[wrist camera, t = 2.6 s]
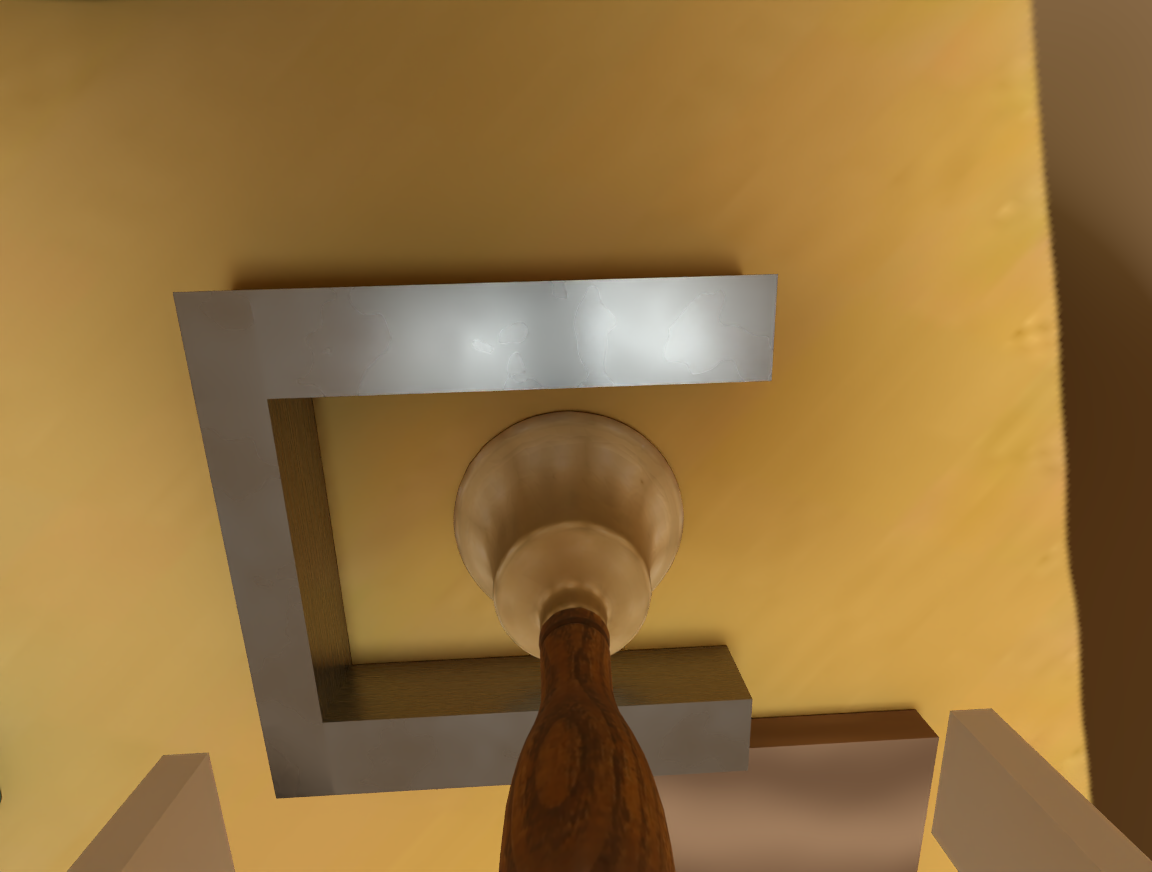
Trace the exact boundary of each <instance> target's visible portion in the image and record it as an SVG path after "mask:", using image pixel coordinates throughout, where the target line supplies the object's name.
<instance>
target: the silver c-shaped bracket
mask: <svg viewBox="0 0 1152 872" xmlns="http://www.w3.org/2000/svg"><path fill="white" fill-rule="evenodd" d="M777 280H778V274H764V275H724V276H690V277H657V278H624V279H590V280H557V281H523V282H490V283H457V284H423V285H390V286H356V287H323V288H290V289H256V290H224V291H196V292H173V296H174V301H175V306H176V311H177V316H178V321H179V326H180V331H181V335H182V340H183V345H184V350H185V355H186V360H187V365H188V370H189V374H190V379H191V384H192V389H193V394H194V399H195V404H196V409H197V414H198V418H199V423H200V428H201V433H202V438H203V443H204V448H205V453H206V458H207V462H208V467H209V472H210V477H211V482H212V487H213V492H214V497H215V502H216V506H217V511H218V516H219V521H220V526H221V531H222V536H223V541H224V545H225V550H226V555H227V560H228V565H229V570H230V575H231V580H232V585H233V589H234V594H235V599H236V604H237V609H238V614H239V619H240V624H241V629H242V633H243V638H244V643H245V648H246V653H247V658H248V663H249V668H250V673H251V677H252V682H253V687H254V692H255V697H256V702H257V707H258V712H259V716H260V721H261V726H262V731H263V736H264V741H265V746H266V751H267V756H268V760H269V765H270V770H271V775H272V780H273V785H274V790H275V795H276V798H293V797H309V796H326V795H343V794H360V793H377V792H394V791H411V790H428V789H444V788H461V787H478V786H495V785H511V782H512V778H513V775H514V771H515V768H516V765H517V761H518V758H519V755H520V753H521V750H522V748H523V745H524V743H525V740H526V738H527V736H528V734H529V732H530V730H531V728H532V726H533V724H534V722H535V720H536V717H537V715H538V712H539V708H540V703H541V671H540V659H539V658H537V657H535V656H518V657H499V658H479V659H460V660H441V661H421V662H402V663H383V664H363V665H352V661H351V655H350V648H349V641H348V635H347V628H346V622H345V615H344V608H343V602H342V595H341V588H340V582H339V575H338V568H337V562H336V555H335V549H334V542H333V535H332V529H331V522H330V515H329V509H328V502H327V495H326V489H325V482H324V476H323V469H322V462H321V456H320V449H319V442H318V436H317V429H316V422H315V416H314V409H313V403H312V397H336V396H364V395H391V394H419V393H447V392H474V391H502V390H529V389H557V388H585V387H612V386H640V385H667V384H695V383H722V382H750V381H771V380H772V363H773V346H774V330H775V313H776V296H777ZM610 659H611V674H612V685H613V694H614V698H615V702H616V704H617V707H618V709H619V712H620V713H621V715H622V716H623V718H624V719H625V721H626V723H627V724H628V726H629V727H630V729H631V730H632V732H633V734H634V736H635V737H636V739H637V741H638V743H639V745H640V747H641V749H642V751H643V752H644V754H645V757H646V759H647V762H648V764H649V767H650V769H651V772H652V774H653V776H664V775H681V774H698V773H715V772H732V771H748V763H749V746H750V730H751V713H752V697H751V695H750V693H749V691H748V689H747V687H746V685H745V683H744V681H743V679H742V677H741V675H740V672H739V670H738V668H737V666H736V664H735V662H734V660H733V658H732V656H731V654H730V652H729V650H728V648H727V646H711V647H692V648H672V649H653V650H634V651H617V652H616V653H614V654H612V655H610Z"/></svg>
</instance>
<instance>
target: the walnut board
mask: <svg viewBox="0 0 1152 872" xmlns="http://www.w3.org/2000/svg"><path fill="white" fill-rule="evenodd" d="M938 740H939V737H938V736H937V734H936V733H935V732H934V731H933V730H932V729H931V727H930V726H929V725H928V724H927V723H926V721H925V720H924V719H923V718H922V717H921V716H920V714H919V713H918V712H917V711H916V710H900V711H882V712H864V713H847V714H829V715H811V716H793V717H775V718H758V719H751V730H750V746H749V763H748V771H732V772H715V773H698V774H681V775H664V776H653V777H654V780H655V783H656V786H657V790H658V793H659V796H660V799H661V802H662V805H663V808H664V812H665V817H666V822H667V827H668V832H669V836H670V841H671V846H672V852H673V859H674V865H675V871H676V872H917V869H918V863H919V857H920V851H921V844H922V838H923V832H924V826H925V820H926V814H927V808H928V801H929V795H930V789H931V783H932V777H933V771H934V765H935V758H936V752H937V746H938Z"/></svg>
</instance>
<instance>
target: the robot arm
mask: <svg viewBox="0 0 1152 872" xmlns="http://www.w3.org/2000/svg"><path fill="white" fill-rule="evenodd" d="M931 833H932V834H933V836H934V837H935V839H936V840H937V842H938V843H939V844H940V846H941V847H942V849H943V850H944V852H945V853H946V854H947V856H948V857H949V859H950V860H951V862H952V863H953V864H954V866H955V867H956V869H957V870H958V872H1152V861H1151V860H1150V859H1149V858H1148V857H1147V856H1146V855H1145V854H1143V853H1142V852H1141V851H1140V850H1139V849H1138V848H1137V847H1136V846H1135V845H1134V844H1133V843H1132V842H1131V841H1130V840H1129V839H1128V838H1127V837H1126V836H1125V835H1124V834H1122V833H1121V832H1120V831H1119V830H1118V829H1117V828H1116V827H1115V826H1114V825H1113V824H1112V823H1111V822H1110V821H1109V820H1108V819H1107V818H1106V817H1105V816H1104V815H1103V814H1101V813H1100V812H1099V811H1098V810H1097V809H1096V808H1095V807H1094V806H1093V805H1092V804H1091V803H1090V802H1089V801H1088V800H1087V799H1086V798H1085V797H1084V796H1083V795H1082V794H1081V793H1080V792H1078V791H1077V790H1076V789H1075V788H1074V787H1073V786H1072V785H1071V784H1070V783H1069V782H1068V781H1067V780H1066V779H1065V778H1064V777H1063V776H1062V775H1061V774H1060V773H1059V772H1057V771H1056V770H1055V769H1054V768H1053V767H1052V766H1051V765H1050V764H1049V763H1048V762H1047V761H1046V760H1045V759H1044V758H1043V757H1042V756H1041V755H1040V754H1039V753H1038V752H1037V751H1035V750H1034V749H1033V748H1032V747H1031V746H1030V745H1029V744H1028V743H1027V742H1026V741H1025V740H1024V739H1023V738H1022V737H1021V736H1020V735H1019V734H1018V733H1017V732H1016V731H1014V730H1013V729H1012V728H1011V727H1010V726H1009V725H1008V724H1007V723H1006V722H1005V721H1004V720H1003V719H1002V718H1001V717H1000V716H999V715H998V714H997V713H996V712H995V711H994V710H992V709H973V710H956V711H950V715H949V721H948V728H947V734H946V741H945V747H944V754H943V760H942V767H941V773H940V780H939V786H938V793H937V800H936V806H935V813H934V819H933V826H932V832H931ZM67 872H235V869H234V865H233V860H232V856H231V851H230V847H229V842H228V838H227V833H226V829H225V824H224V820H223V815H222V811H221V806H220V802H219V798H218V793H217V789H216V784H215V780H214V775H213V771H212V766H211V762H210V757H209V753H195V754H177V755H163V756H162V757H161V759H160V760H159V761H158V762H157V763H156V765H155V766H154V767H153V768H152V769H151V771H150V772H149V773H148V774H147V775H146V777H145V778H144V779H143V780H142V781H141V783H140V784H139V785H138V786H137V788H136V789H135V790H134V791H133V792H132V794H131V795H130V796H129V797H128V798H127V800H126V801H125V802H124V803H123V804H122V806H121V807H120V808H119V809H118V810H117V812H116V813H115V814H114V815H113V816H112V818H111V819H110V820H109V821H108V823H107V824H106V825H105V826H104V827H103V829H102V830H101V831H100V832H99V833H98V835H97V836H96V837H95V838H94V839H93V841H92V842H91V843H90V844H89V845H88V847H87V848H86V849H85V850H84V851H83V853H82V854H81V855H80V856H79V858H78V859H77V860H76V861H75V862H74V864H73V865H72V866H71V867H70V868H69V870H68V871H67Z"/></svg>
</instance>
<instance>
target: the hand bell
mask: <svg viewBox="0 0 1152 872" xmlns="http://www.w3.org/2000/svg"><path fill="white" fill-rule="evenodd" d="M454 531H455V538H456V542H457V546H458V549H459V552H460V555H461V558H462V560H463V563H464V565H465V566H466V568H467V570H468V571H469V573H470V575H471V576H472V578H473V579H474V580H475V582H476V583H477V585H478V586H479V587H480V588H481V589H482V590H483V591H484V592H485V593H486V594H487V595H488V596H489V597H490V598H491V599H492V600H493V601H494V606H495V610H496V613H497V616H498V618H499V620H500V623H501V625H502V627H503V628H504V630H505V631H506V633H507V634H508V635H509V636H510V638H511V639H512V640H513V641H514V642H515V643H516V644H517V645H518V646H519V647H520V648H522V649H523V650H524V651H526V652H528V653H529V654H531V655H533V656H535V657H537V658H539V659H540V671H541V703H540V708H539V712H538V715H537V717H536V720H535V722H534V724H533V726H532V728H531V730H530V732H529V734H528V736H527V738H526V740H525V743H524V745H523V748H522V750H521V753H520V755H519V758H518V761H517V765H516V768H515V771H514V775H513V778H512V782H511V786H510V791H509V795H508V800H507V804H506V811H505V819H504V827H503V835H502V844H501V853H500V863H499V872H676V871H675V865H674V859H673V852H672V846H671V841H670V836H669V832H668V827H667V822H666V817H665V812H664V808H663V805H662V802H661V799H660V796H659V793H658V790H657V786H656V783H655V780H654V777H653V774H652V772H651V769H650V767H649V764H648V762H647V759H646V757H645V754H644V752H643V751H642V749H641V747H640V745H639V743H638V741H637V739H636V737H635V736H634V734H633V732H632V730H631V729H630V727H629V726H628V724H627V723H626V721H625V719H624V718H623V716H622V715H621V713H620V712H619V709H618V707H617V704H616V702H615V698H614V694H613V685H612V674H611V659H610V655H612V654H614V653H616V652H617V651H619V650H620V649H622V648H623V647H624V646H625V645H626V644H627V643H629V642H630V641H631V640H632V639H633V637H634V636H635V635H636V634H637V633H638V631H639V629H640V628H641V626H642V625H643V623H644V621H645V619H646V616H647V613H648V609H649V605H650V600H651V596H652V591H653V590H654V589H655V588H656V587H657V585H658V584H659V583H660V581H661V580H662V579H663V577H664V576H665V574H666V573H667V571H668V570H669V568H670V566H671V565H672V563H673V561H674V558H675V556H676V553H677V551H678V548H679V545H680V541H681V537H682V532H683V504H682V498H681V494H680V489H679V486H678V483H677V481H676V478H675V476H674V474H673V472H672V470H671V468H670V467H669V465H668V463H667V462H666V460H665V459H664V457H663V456H662V455H661V453H660V452H659V451H658V450H657V449H656V448H655V446H654V445H653V444H652V443H650V442H649V441H648V440H647V439H646V438H645V437H643V436H642V435H641V434H640V433H638V432H637V431H635V430H633V429H632V428H630V427H628V426H626V425H624V424H622V423H620V422H618V421H616V420H614V419H611V418H608V417H604V416H600V415H596V414H590V413H584V412H573V411H565V412H554V413H547V414H543V415H539V416H534V417H531V418H529V419H526V420H523V421H521V422H519V423H517V424H515V425H513V426H511V427H510V428H508V429H506V430H504V431H503V432H502V433H500V434H499V435H498V436H496V437H495V438H494V439H492V440H491V441H490V442H489V443H487V444H486V445H485V446H484V448H483V449H482V450H481V451H480V452H479V453H478V455H477V456H476V457H475V458H474V460H473V461H472V462H471V463H470V465H469V467H468V468H467V470H466V472H465V475H464V477H463V479H462V481H461V484H460V486H459V489H458V493H457V497H456V502H455V509H454Z"/></svg>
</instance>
